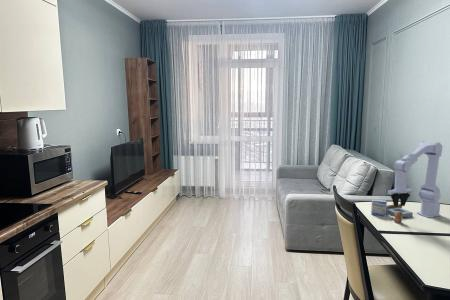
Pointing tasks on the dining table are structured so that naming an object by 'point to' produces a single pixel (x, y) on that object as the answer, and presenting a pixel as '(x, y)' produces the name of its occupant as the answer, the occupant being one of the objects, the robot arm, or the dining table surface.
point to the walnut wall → (393, 206)
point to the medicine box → (378, 207)
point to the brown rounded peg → (398, 217)
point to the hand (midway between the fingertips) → (399, 206)
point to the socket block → (404, 212)
